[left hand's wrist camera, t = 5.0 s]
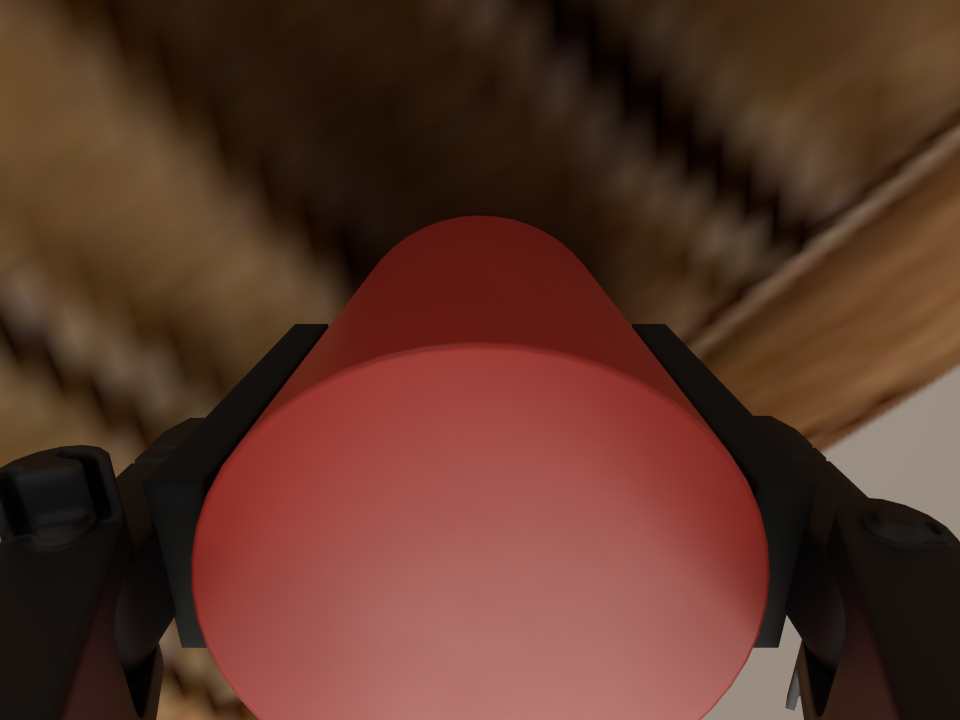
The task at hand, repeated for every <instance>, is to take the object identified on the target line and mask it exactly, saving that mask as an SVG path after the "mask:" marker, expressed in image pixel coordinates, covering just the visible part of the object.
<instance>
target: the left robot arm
mask: <svg viewBox="0 0 960 720" xmlns="http://www.w3.org/2000/svg"><path fill="white" fill-rule="evenodd" d="M328 328H329V327H328V324H295V325H294V326H293V327H292V328H291V329H290V330H289V331H288V332H287V333H286V334H285V335H284V336H283V337H282V338H281V340H280V341H279V342H278V343H277V344H276V345H275V346H274V347H273V348H272V349H271V350H270V351H269V352H268V353H267V354H266V355H265V356H264V357H263V358H262V359H261V360H260V361H259V362H258V364H257V365H256V366H255V367H254V368H253V369H252V370H251V371H250V372H249V373H248V374H247V375H246V376H245V377H244V378H243V379H242V380H241V381H240V382H239V383H238V384H237V385H236V387H235V388H234V389H233V390H232V391H231V392H230V393H229V394H228V395H227V396H226V397H225V398H224V399H223V400H222V401H221V402H220V403H219V404H218V405H217V406H216V407H215V408H214V409H213V411H212V412H211V413H210V414H209V415H208V416H207V417H206V418H189V419H187V420H186V421H184V422H182V423H180V424H178V425H176V426H174V427H172V428H170V429H169V430H167V431H165V432H164V433H163V434H162V435H161V436H160V437H159V438H158V439H157V440H155V441H154V442H153V443H152V444H151V445H150V446H149V450H145V451H144V452H143V453H142V454H141V455H140V456H139V457H138V458H137V459H136V460H135V464H130V465H129V466H128V467H127V468H126V469H125V470H124V471H123V472H122V473H121V474H120V475H119V476H118V477H117V478H115V474H114V470H113V466H112V463H111V459H110V455H109V453H108V452H106V451H105V450H103V449H102V448H100V447H94V446H86V445H78V446H64V447H58V448H54V449H49V450H45V451H40V452H36V453H34V454H31V455H28V456H25V457H23V458H20V459H17V460H14V461H12V462H10V463H9V464H7V465H5V466H3V467H1V468H0V537H1V540H2V541H1V543H0V720H156V717H157V710H158V704H159V697H160V691H161V684H162V677H163V671H164V665H163V657H162V653H161V649H160V645H159V640H160V639H161V637H162V636H163V634H164V632H165V631H166V629H167V628H168V626H169V625H170V623H171V621H172V620H173V618H174V617H175V621H176V625H177V629H178V633H179V637H180V641H181V645H182V648H207V646H206V643H205V640H204V638H203V635H202V632H201V629H200V626H199V623H198V620H197V616H196V611H195V605H194V600H193V594H192V578H191V556H192V549H193V543H194V537H195V530H196V525H197V522H198V519H199V516H200V513H201V510H202V507H203V504H204V501H205V498H206V495H207V493H208V491H209V489H210V488H211V486H212V484H213V482H214V480H215V478H216V476H217V475H218V473H219V471H220V469H221V467H222V465H223V464H224V463H225V461H226V460H227V459H228V457H229V456H230V455H231V453H232V452H233V451H234V450H235V448H236V447H237V446H238V444H239V443H240V442H241V440H242V439H243V438H244V437H245V435H246V434H247V433H248V431H249V430H250V429H251V427H252V426H253V425H254V424H255V422H256V421H257V420H258V418H259V417H260V416H261V415H262V413H263V412H264V411H265V409H266V408H267V407H268V405H269V404H270V403H271V402H272V400H273V399H274V398H275V396H276V395H277V394H278V392H279V391H280V390H281V389H282V387H283V386H284V385H285V383H286V382H287V381H288V380H289V378H290V377H291V376H292V374H293V373H294V372H295V370H296V369H297V368H298V367H299V365H300V364H301V363H302V361H303V360H304V359H305V357H306V356H307V355H308V354H309V352H310V351H311V350H312V348H313V347H314V346H315V345H316V343H317V342H318V341H319V339H320V338H321V337H322V335H323V334H324V333H325V332H326V330H327V329H328ZM632 328H633V329H634V330H635V332H636V333H637V334H638V335H639V337H640V338H641V339H642V341H643V342H644V343H645V344H646V346H647V347H648V348H649V350H650V351H651V352H652V353H653V355H654V356H655V357H656V359H657V360H658V361H659V362H660V364H661V365H662V366H663V368H664V369H665V370H666V372H667V373H668V374H669V375H670V377H671V378H672V379H673V381H674V382H675V383H676V384H677V386H678V387H679V388H680V390H681V391H682V392H683V393H684V395H685V396H686V397H687V399H688V400H689V401H690V402H691V404H692V405H693V406H694V408H695V409H696V410H697V411H698V413H699V414H700V415H701V417H702V418H703V419H704V420H705V422H706V423H707V424H708V426H709V427H710V428H711V429H712V431H713V432H714V433H715V435H716V436H717V437H718V439H719V440H720V441H721V442H722V444H723V445H724V446H725V448H726V449H727V450H728V451H729V453H730V454H731V456H732V458H733V459H734V461H735V462H736V464H737V465H738V467H739V469H740V470H741V472H742V473H743V475H744V476H745V478H746V480H747V481H748V483H749V486H750V488H751V491H752V493H753V495H754V498H755V500H756V502H757V505H758V507H759V509H760V512H761V516H762V520H763V524H764V529H765V533H766V537H767V541H768V555H769V571H770V579H769V588H768V598H767V606H766V610H765V614H764V617H763V621H762V625H761V628H760V632H759V635H758V637H757V640H756V642H755V644H754V646H753V648H778V647H779V643H780V639H781V635H782V631H783V626H784V623H785V618H786V614H787V616H788V617H789V619H790V621H791V622H792V624H793V625H794V627H795V629H796V630H797V632H798V633H799V635H800V636H801V638H802V641H801V645H800V649H799V653H798V657H797V660H796V664H795V668H794V672H793V676H792V679H791V683H790V687H789V691H788V695H787V701H786V708H787V709H791V710H795V707H796V703H797V699H798V697H799V696H801V702H802V709H803V715H804V720H960V542H959V540H958V539H957V538H956V537H955V536H954V534H953V533H952V532H951V531H950V530H949V529H948V528H947V527H946V526H944V525H943V524H941V523H940V522H938V521H937V520H935V519H934V518H932V517H930V516H929V515H927V514H925V513H923V512H920V511H918V510H915V509H913V508H911V507H908V506H906V505H903V504H899V503H895V502H891V501H887V500H883V499H874V498H868V497H867V496H866V495H865V494H864V493H863V492H862V491H861V490H860V489H858V488H857V487H856V486H855V485H854V484H853V483H852V482H851V481H850V480H849V479H848V478H847V477H846V476H845V475H844V474H843V473H842V472H841V471H839V470H838V469H837V468H836V467H835V466H834V465H833V464H832V463H831V462H830V461H826V457H825V456H824V455H823V454H821V453H820V452H819V451H818V450H817V449H816V448H812V444H811V443H810V442H809V441H808V440H807V439H806V438H805V437H803V436H802V435H801V434H800V433H799V432H798V431H797V430H796V429H794V428H792V427H791V426H789V425H787V424H785V423H783V422H781V421H779V420H777V419H775V418H773V417H772V416H753V415H752V414H751V413H750V412H749V411H748V410H747V409H746V408H745V407H744V406H743V405H742V404H741V403H740V402H739V401H738V400H737V399H736V398H735V396H734V395H733V394H732V393H731V392H730V391H729V390H728V389H727V388H726V387H725V386H724V385H723V384H722V383H721V382H720V381H719V380H718V379H717V378H716V377H715V376H714V375H713V374H712V372H711V371H710V370H709V369H708V368H707V367H706V366H705V365H704V364H703V363H702V362H701V361H700V360H699V359H698V358H697V357H696V356H695V355H694V354H693V353H692V352H691V351H690V350H689V348H688V347H687V346H686V345H685V344H684V343H683V342H682V341H681V340H680V339H679V338H678V337H677V336H676V335H675V334H674V333H673V332H672V331H671V330H670V329H669V328H668V327H667V325H666V324H632Z"/></svg>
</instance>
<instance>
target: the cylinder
mask: <svg viewBox="0 0 960 720" xmlns="http://www.w3.org/2000/svg"><path fill="white" fill-rule="evenodd" d="M191 578H192V594H193V600H194V605H195V611H196V616H197V620H198V623H199V626H200V629H201V632H202V635H203V638H204V640H205V643H206V646H207V648H208V650H209V652H210V654H211V656H212V658H213V660H214V661H215V663H216V665H217V667H218V669H219V671H220V673H221V674H222V676H223V677H224V678H225V680H226V681H227V682H228V684H229V685H230V687H231V688H232V689H233V691H234V692H235V694H236V695H237V696H238V697H239V699H240V700H241V701H242V702H243V703H244V704H245V705H246V706H247V707H248V708H249V709H250V710H251V711H252V712H253V713H254V714H255V716H256V717H257V718H258V719H259V720H701V719H702V718H703V717H704V716H705V715H706V714H707V713H708V712H709V711H710V710H711V709H712V708H713V707H714V706H715V705H716V703H717V702H718V701H719V700H720V699H721V697H722V696H723V695H724V694H725V693H726V692H727V690H728V689H729V688H730V687H731V685H732V684H733V682H734V681H735V679H736V678H737V676H738V674H739V673H740V671H741V670H742V668H743V666H744V665H745V663H746V662H747V660H748V657H749V655H750V653H751V651H752V649H753V646H754V644H755V642H756V640H757V637H758V635H759V632H760V628H761V625H762V621H763V617H764V614H765V610H766V606H767V598H768V588H769V579H770V571H769V555H768V541H767V537H766V533H765V529H764V524H763V520H762V516H761V512H760V509H759V507H758V505H757V502H756V500H755V498H754V495H753V493H752V491H751V488H750V486H749V483H748V481H747V480H746V478H745V476H744V475H743V473H742V472H741V470H740V469H739V467H738V465H737V464H736V462H735V461H734V459H733V458H732V456H731V454H730V453H729V451H728V450H727V449H726V448H725V446H724V445H723V444H722V442H721V441H720V440H719V439H718V437H717V436H716V435H715V433H714V432H713V431H712V429H711V428H710V427H709V426H708V424H707V423H706V422H705V420H704V419H703V418H702V417H701V415H700V414H699V413H698V411H697V410H696V409H695V408H694V406H693V405H692V404H691V402H690V401H689V400H688V399H687V397H686V396H685V395H684V393H683V392H682V391H681V390H680V388H679V387H678V386H677V384H676V383H675V382H674V381H673V379H672V378H671V377H670V375H669V374H668V373H667V372H666V370H665V369H664V368H663V366H662V365H661V364H660V362H659V361H658V360H657V359H656V357H655V356H654V355H653V353H652V352H651V351H650V350H649V348H648V347H647V346H646V344H645V343H644V342H643V341H642V339H641V338H640V337H639V335H638V334H637V333H636V332H635V330H634V329H633V328H632V326H631V325H630V324H629V323H628V321H627V320H626V319H625V317H624V316H623V315H622V314H621V312H620V311H619V310H618V308H617V307H616V306H615V305H614V303H613V302H612V301H611V299H610V298H609V297H608V295H607V294H606V293H605V292H604V290H603V289H602V288H601V286H600V285H599V284H598V283H597V281H596V280H595V279H594V277H593V276H592V275H591V274H590V272H589V271H588V270H587V268H586V267H585V266H584V265H583V264H582V262H581V261H580V260H579V259H578V258H577V257H576V256H575V254H574V253H573V252H571V251H570V250H569V249H568V248H567V247H566V246H565V245H563V244H562V243H561V242H560V241H558V240H557V239H555V238H554V237H552V236H551V235H549V234H547V233H546V232H544V231H542V230H540V229H538V228H536V227H533V226H531V225H529V224H526V223H523V222H520V221H516V220H513V219H508V218H502V217H497V216H478V215H475V216H465V217H457V218H452V219H448V220H444V221H440V222H437V223H435V224H432V225H429V226H427V227H424V228H422V229H420V230H419V231H417V232H415V233H413V234H411V235H409V236H408V237H406V238H405V239H404V240H402V241H401V242H400V243H398V244H397V245H396V246H394V247H393V248H392V249H391V250H390V251H389V252H388V253H387V254H386V255H385V256H384V257H383V258H382V259H381V260H380V262H379V263H378V264H377V265H376V267H375V268H374V269H373V271H372V272H371V273H370V275H369V276H368V277H367V278H366V280H365V281H364V282H363V284H362V285H361V286H360V287H359V289H358V290H357V291H356V293H355V294H354V295H353V297H352V298H351V299H350V300H349V302H348V303H347V304H346V306H345V307H344V308H343V310H342V311H341V312H340V313H339V315H338V316H337V317H336V319H335V320H334V321H333V322H332V324H331V325H330V326H329V328H328V329H327V330H326V332H325V333H324V334H323V335H322V337H321V338H320V339H319V341H318V342H317V343H316V345H315V346H314V347H313V348H312V350H311V351H310V352H309V354H308V355H307V356H306V357H305V359H304V360H303V361H302V363H301V364H300V365H299V367H298V368H297V369H296V370H295V372H294V373H293V374H292V376H291V377H290V378H289V380H288V381H287V382H286V383H285V385H284V386H283V387H282V389H281V390H280V391H279V392H278V394H277V395H276V396H275V398H274V399H273V400H272V402H271V403H270V404H269V405H268V407H267V408H266V409H265V411H264V412H263V413H262V415H261V416H260V417H259V418H258V420H257V421H256V422H255V424H254V425H253V426H252V427H251V429H250V430H249V431H248V433H247V434H246V435H245V437H244V438H243V439H242V440H241V442H240V443H239V444H238V446H237V447H236V448H235V450H234V451H233V452H232V453H231V455H230V456H229V457H228V459H227V460H226V461H225V463H224V464H223V465H222V467H221V469H220V471H219V473H218V475H217V476H216V478H215V480H214V482H213V484H212V486H211V488H210V489H209V491H208V493H207V495H206V498H205V501H204V504H203V507H202V510H201V513H200V516H199V519H198V522H197V525H196V530H195V537H194V543H193V549H192V556H191Z"/></svg>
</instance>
